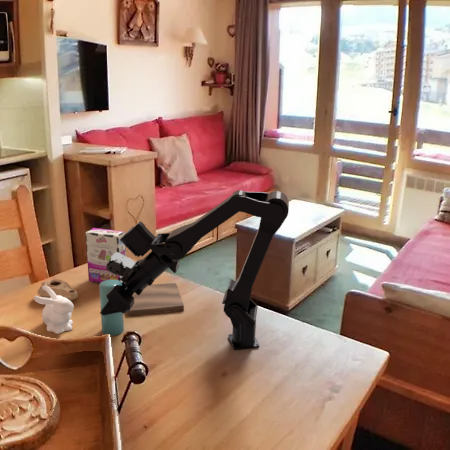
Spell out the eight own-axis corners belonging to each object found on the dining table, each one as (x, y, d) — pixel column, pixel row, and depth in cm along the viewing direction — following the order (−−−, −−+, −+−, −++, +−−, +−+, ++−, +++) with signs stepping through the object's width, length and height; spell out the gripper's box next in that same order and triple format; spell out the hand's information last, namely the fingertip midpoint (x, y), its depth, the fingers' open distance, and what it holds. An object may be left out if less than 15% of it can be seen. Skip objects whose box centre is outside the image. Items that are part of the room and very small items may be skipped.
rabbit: (78, 333, 130) (75, 290, 127) (39, 341, 126) (34, 297, 123) (69, 312, 141) (66, 272, 137) (33, 319, 137) (28, 278, 133)
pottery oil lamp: (66, 310, 141) (51, 290, 138) (44, 310, 149) (29, 291, 146) (87, 288, 147) (73, 269, 144) (64, 290, 155) (51, 271, 152)
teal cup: (124, 334, 130) (122, 288, 126) (102, 336, 129) (99, 290, 125) (123, 323, 135) (121, 278, 131) (101, 325, 134) (99, 280, 130)
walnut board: (183, 310, 143) (183, 305, 143) (129, 315, 140) (128, 310, 139) (175, 287, 157) (175, 282, 156) (126, 291, 154) (125, 286, 153)
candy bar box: (128, 280, 161) (126, 231, 155) (120, 287, 156) (118, 236, 151) (96, 275, 164) (93, 226, 158) (87, 281, 159) (84, 231, 154)
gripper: (137, 232, 133) (98, 268, 138) (113, 259, 115) (69, 299, 120) (167, 262, 134) (128, 297, 139) (148, 294, 117) (103, 332, 122)
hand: (108, 305), depth 130 cm, fingers open, 9 cm apart
